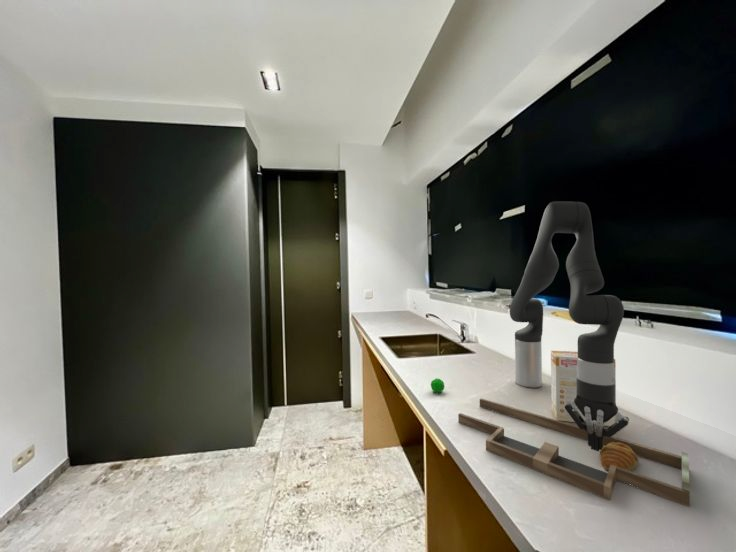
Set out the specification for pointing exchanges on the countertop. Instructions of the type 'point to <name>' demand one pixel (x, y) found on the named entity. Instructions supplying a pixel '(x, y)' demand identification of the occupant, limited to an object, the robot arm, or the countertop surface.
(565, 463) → the mats
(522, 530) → the countertop surface
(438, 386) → the polyhedron
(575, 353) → the coffeecake box
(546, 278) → the robot arm
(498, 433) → the lane
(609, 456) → the pastry
